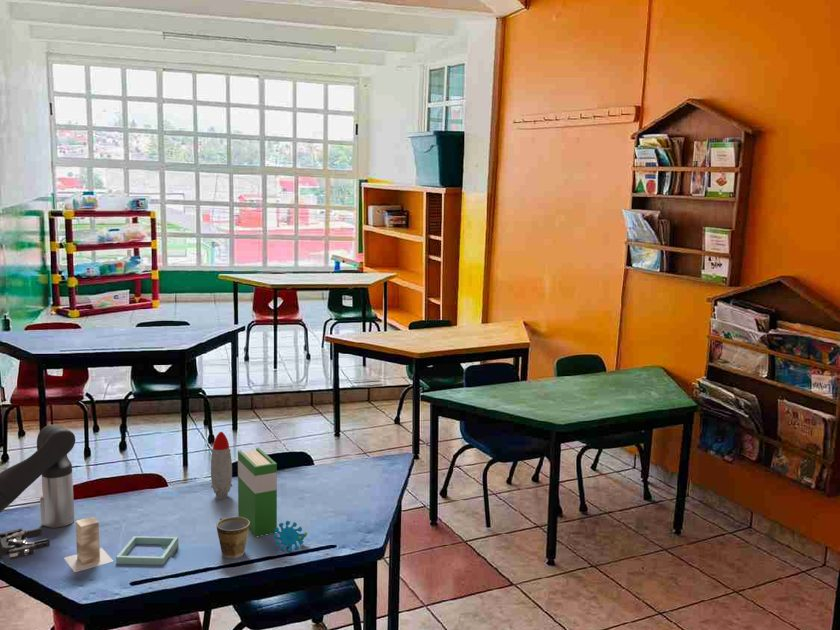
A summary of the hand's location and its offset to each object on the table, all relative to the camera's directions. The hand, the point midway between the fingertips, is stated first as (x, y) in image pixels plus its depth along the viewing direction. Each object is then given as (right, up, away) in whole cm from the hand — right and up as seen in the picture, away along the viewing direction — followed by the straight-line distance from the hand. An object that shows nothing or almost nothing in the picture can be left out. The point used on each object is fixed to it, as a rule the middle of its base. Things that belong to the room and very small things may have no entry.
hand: (45, 536), depth 211 cm
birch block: (+8, -10, +9) cm, 16 cm away
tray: (+24, -11, +15) cm, 30 cm away
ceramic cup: (+48, -11, +20) cm, 53 cm away
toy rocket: (+34, -4, +62) cm, 71 cm away
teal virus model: (+66, -11, +25) cm, 71 cm away
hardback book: (+52, -8, +40) cm, 66 cm away
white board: (+8, -11, +10) cm, 17 cm away
